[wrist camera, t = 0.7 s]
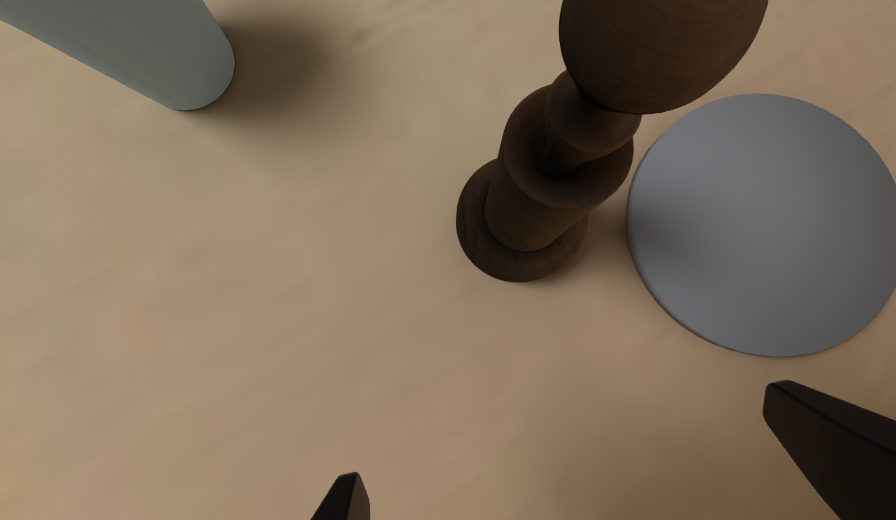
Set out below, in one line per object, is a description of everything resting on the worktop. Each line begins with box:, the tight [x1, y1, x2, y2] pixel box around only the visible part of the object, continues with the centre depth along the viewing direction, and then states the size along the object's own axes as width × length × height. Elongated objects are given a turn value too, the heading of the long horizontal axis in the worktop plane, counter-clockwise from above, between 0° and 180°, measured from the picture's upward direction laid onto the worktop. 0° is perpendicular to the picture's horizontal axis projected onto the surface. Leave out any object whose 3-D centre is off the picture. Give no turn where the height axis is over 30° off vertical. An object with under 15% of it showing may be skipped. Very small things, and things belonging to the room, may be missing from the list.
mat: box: [626, 94, 896, 357], centre depth 23 cm, size 14×14×1 cm
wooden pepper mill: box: [456, 0, 768, 282], centre depth 15 cm, size 7×6×18 cm
